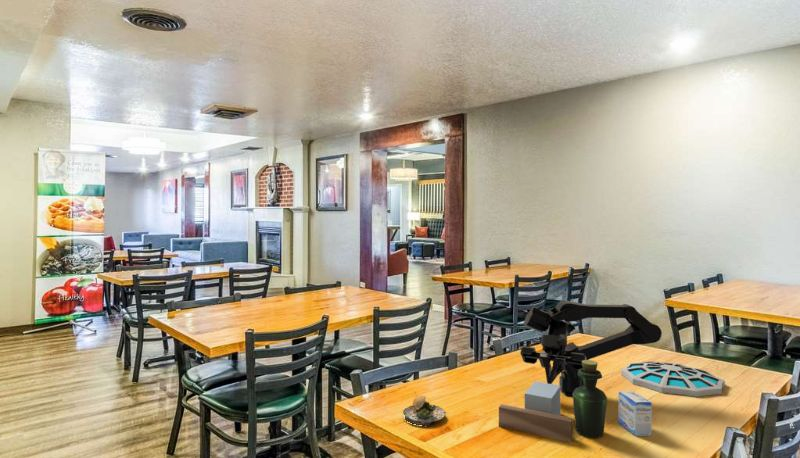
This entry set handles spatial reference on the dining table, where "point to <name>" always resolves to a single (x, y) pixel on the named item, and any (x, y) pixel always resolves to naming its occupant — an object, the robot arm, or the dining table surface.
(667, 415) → the dining table surface
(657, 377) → the decorative platform
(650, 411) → the medicine box
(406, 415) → the grey dish with food
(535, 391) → the slate block
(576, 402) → the potion bottle
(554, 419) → the walnut board
